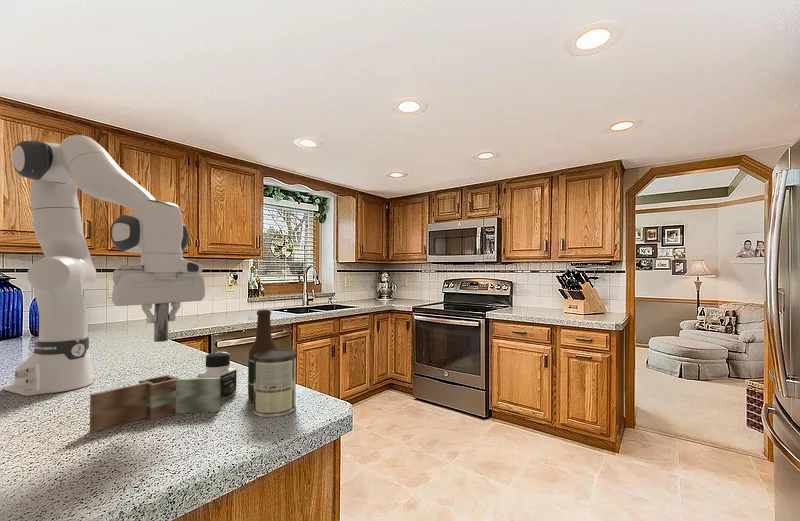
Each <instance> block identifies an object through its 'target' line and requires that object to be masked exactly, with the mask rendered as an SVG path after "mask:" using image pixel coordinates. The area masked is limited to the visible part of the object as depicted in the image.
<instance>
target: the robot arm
mask: <svg viewBox="0 0 800 521" xmlns="http://www.w3.org/2000/svg"><path fill="white" fill-rule="evenodd" d="M11 161H12V165H13V168H14V170H15V171H16V173H17V174H19V175H20V176H21V177H23V178H26V179H29V180H31V184H30V212H31V217H32V224H33V225H32V226H33V232H34V238H35V240H36V241H37V242H38V244H39V246H40V248H41V250H42V252H43V255H44V257H43V258H41V259H38V260H36V261H35V262H33V263H32V264H30V267H29V269H27V270H28V271H27V279H28V282H29V284H30V285H31V286H32V289H33V292H34V296H35V300H36V304H37V310H38V340H37V341H36V342H32V346H31V347H32V348H34V349H33V352H32V353H33V354H32V355H30V357H28V358H27V359H26V360H24V361H23V362H22V363H21V364H19V365H18V366H17V367H16V369H15V372H14V379H13V380H14V382H10V383H8V384H5V385H3V386H2V390H3V391H7V392H9V393H14V394H17V395H20V396H24V397H30V396H36V395H43V394H53V393H61V392H67V391H72V390H77V389H81V388H84V387H87V386H89V385H91V384H93V383H94V380H96V375H95V374H93V366H92V365H93V363H92V356H91V353H90V352H89V351H88V349H89V348H90V337H89V336H88V326H89V325H88V321H89V320H88V317H89V315H88V314H89V310H88V309H87V307H86V305H85V301H84V300H85V299H84V295H83V294H84V293H83V290H85V289H87V288H88V287H90V286H91V285H92V283H94V281H95V280H96V278H97V270H96V267H95V265H94V264H93V260H92V256H91V254H90V251H89V247H88V244H87V243H86V238H85V235H84V228H83V223H82V222H83V221H82V215H81V207H80V203H79V198H78V189H79V190H80V191H82V192H83V193H84V194H86V195H87V196H89V197H91V198H94V199H97V200H100V201H105V202H108V203H112V204H115V205H118V206H122V207H125V208H126V209H129V210H131V211H133V212H130V213H128V214H122V215H119V217H117V218H115V220H114V221H113V223H112V224H111V227H110V233H109V234H110V239H111V242H112V244H113V245H114V246H115V247H116V248H117V249H118V251H121V252H126V253H131V254H136V253H137V254H140V265H138V264H137V265H127V264H126V265H123V264H122V265H120V266H119V267H117V268H115V269H114V270H113V273H112V281H113V288H112V292H111V293H112V294H111V302H112V304H114V306H118V307H127V306H128V307H129V306H139V305H140V306H141V310H142V311H143V313H144V314H145V315H146V323H147V324H154V323H156V322H157V320H156V319H157V315H154V314H153V313H152V311H151V309H153V305H155V304H160V303H169V304H170V307H172V308H171V309H170V311H169V322H174V321H176V314H177V312H178V311H179V310H180V308H181V303H189V302H200V301H203V299H204V298H205V296H206V290H205V289H206V286H205V285H206V284H205V278H204V276H203V275H202V274H201V273H202V272H203V265H202V264H200V263H196V262H194V261H191V260H189V259H185V258H184V252H183V251H184V250H185V249H186V248H187V246H188V244H189V241H190V233H189V230H188V229H187V226H186V224H185V223H184V220H183V213H182V210H181V207H180V206H179V205H177V203H174V202H169V201H168V202H167V201H163V200H157V199H155V197H154V196H153V195H151V193H150V192H149V191H147V190H146V188H144V187H143V186H142V185H141V184H140V183H138V182H137V181H136V180H135V179H133V178H132V177H130V176H129V175H128V174H127V173H126V172H125V171H124V170H123V169H122V168H121V167H120V166H119V164H117V162H116V161H115V160H114V159H113V157H112V156H111V155H110V153H108V152H107V151H106V149H105V148H104V147H102V145H101V144H99V143H98V142H97V141H96V140H94V139H93V138H92V137H89V136H86V135H82V134H73V135H69V136H66V138H64V139H62V141H60V143H56V142H46V141H45V142H44V141H39V140H22V141H19V142H18V143H16V144H15V145H14V147H13V148H12V154H11Z"/></svg>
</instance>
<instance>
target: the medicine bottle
mask: <svg viewBox="0 0 800 521" xmlns="http://www.w3.org/2000/svg"><path fill="white" fill-rule="evenodd" d="M230 363H231V355H230V353H228V352H226V351H214V352H210V353H208V354H206V356H205V369H206V370H204V371H201V372H198V374H197V378H221V397H220V402H222V401H224V400H226V399H228V398H230V397H232V396H235V395H236V394H237V368H234V367H233V368H232V367H230V366H231V364H230Z"/></svg>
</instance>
